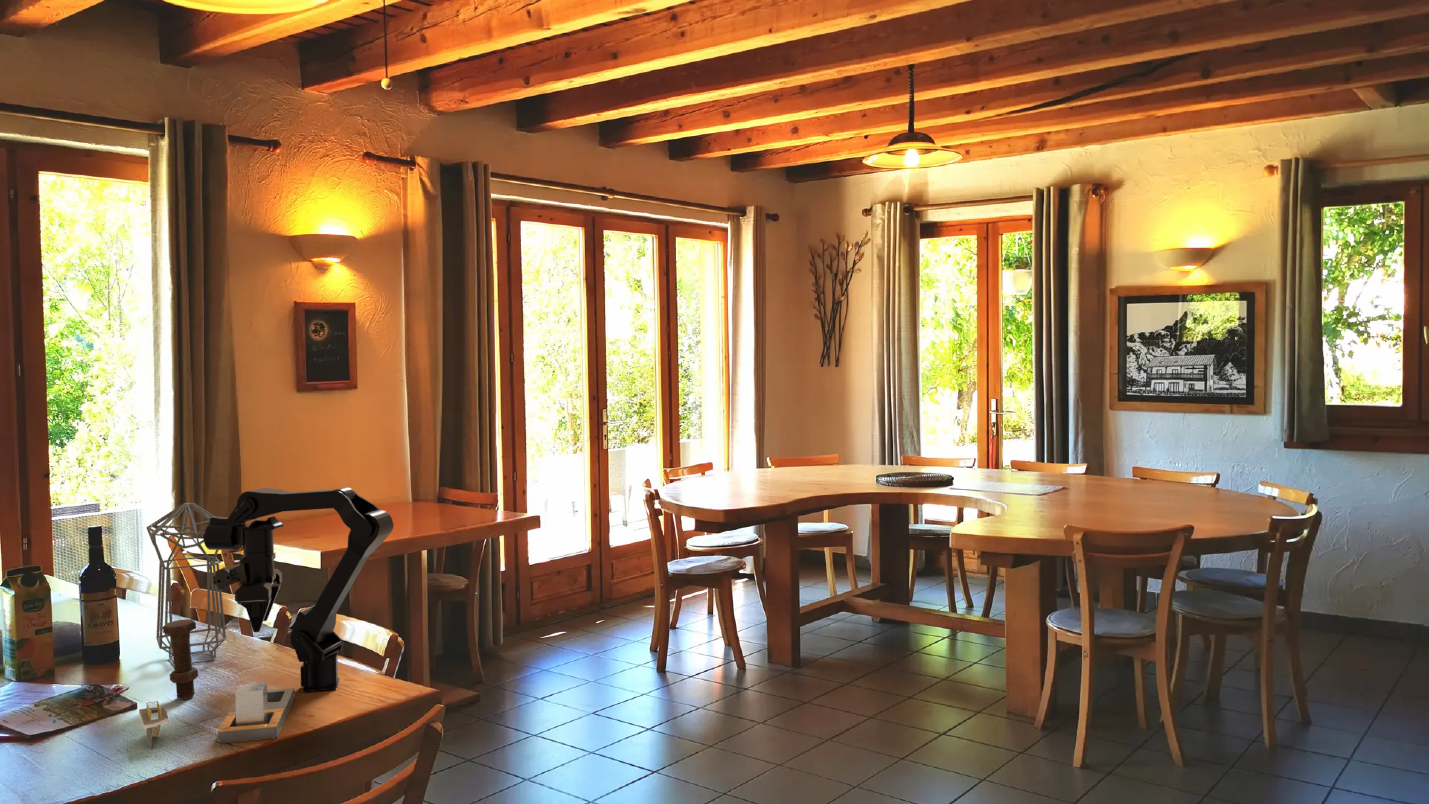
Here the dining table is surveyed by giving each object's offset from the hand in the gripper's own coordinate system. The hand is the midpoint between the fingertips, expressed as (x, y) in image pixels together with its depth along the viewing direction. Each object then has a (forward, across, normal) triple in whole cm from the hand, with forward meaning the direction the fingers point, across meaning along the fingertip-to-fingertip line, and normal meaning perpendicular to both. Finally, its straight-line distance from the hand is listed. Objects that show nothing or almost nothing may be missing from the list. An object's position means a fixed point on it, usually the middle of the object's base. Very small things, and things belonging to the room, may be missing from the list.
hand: (260, 626), depth 213 cm
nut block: (+12, +29, +3) cm, 31 cm away
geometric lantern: (+12, -24, -18) cm, 32 cm away
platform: (+13, +29, -13) cm, 34 cm away
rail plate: (+12, +22, +3) cm, 26 cm away
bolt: (+12, +5, -13) cm, 19 cm away
